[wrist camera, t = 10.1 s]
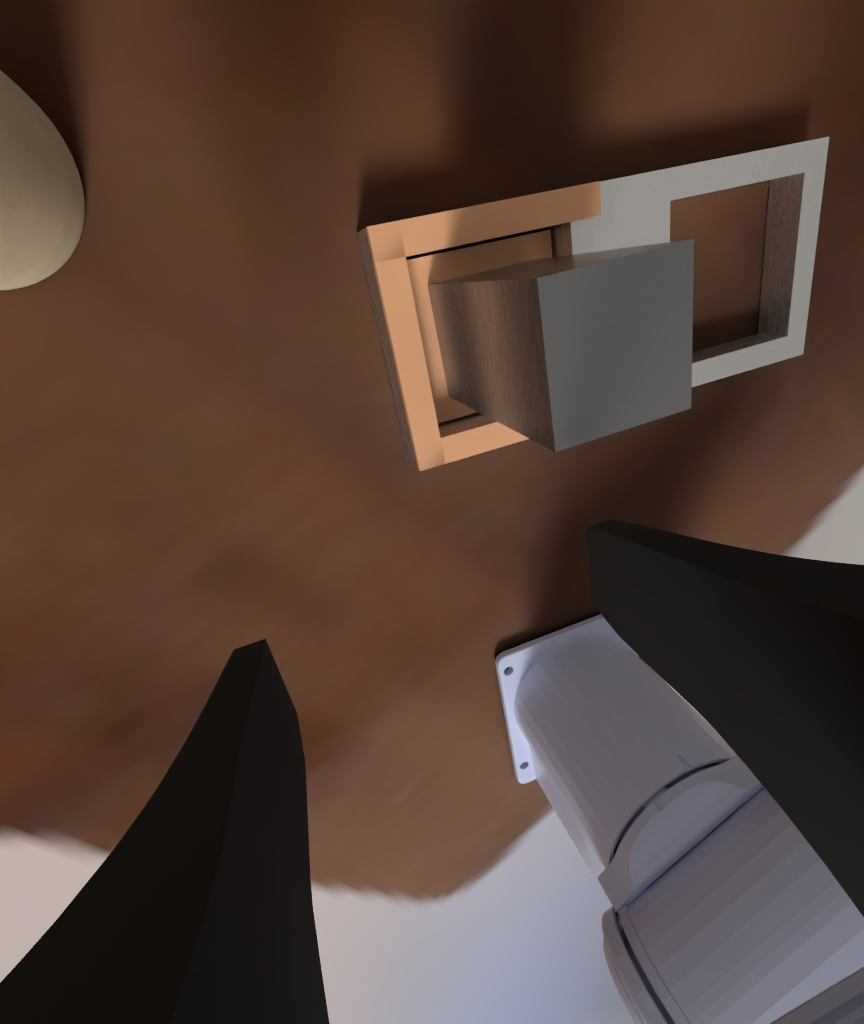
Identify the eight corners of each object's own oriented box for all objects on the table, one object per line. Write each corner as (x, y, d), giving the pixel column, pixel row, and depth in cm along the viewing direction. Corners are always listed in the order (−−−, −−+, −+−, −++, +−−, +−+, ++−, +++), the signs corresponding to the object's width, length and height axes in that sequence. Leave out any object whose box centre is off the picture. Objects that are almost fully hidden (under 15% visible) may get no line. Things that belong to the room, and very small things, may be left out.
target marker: (584, 406, 22) (609, 414, 21) (407, 457, 21) (419, 471, 19) (570, 190, 19) (600, 180, 17) (356, 233, 17) (367, 226, 16)
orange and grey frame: (773, 351, 24) (803, 354, 23) (407, 457, 21) (417, 468, 19) (792, 146, 21) (829, 136, 19) (356, 233, 17) (365, 228, 16)
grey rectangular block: (542, 369, 21) (691, 408, 14) (448, 396, 20) (555, 452, 13) (530, 259, 19) (694, 239, 12) (427, 284, 18) (537, 278, 11)
